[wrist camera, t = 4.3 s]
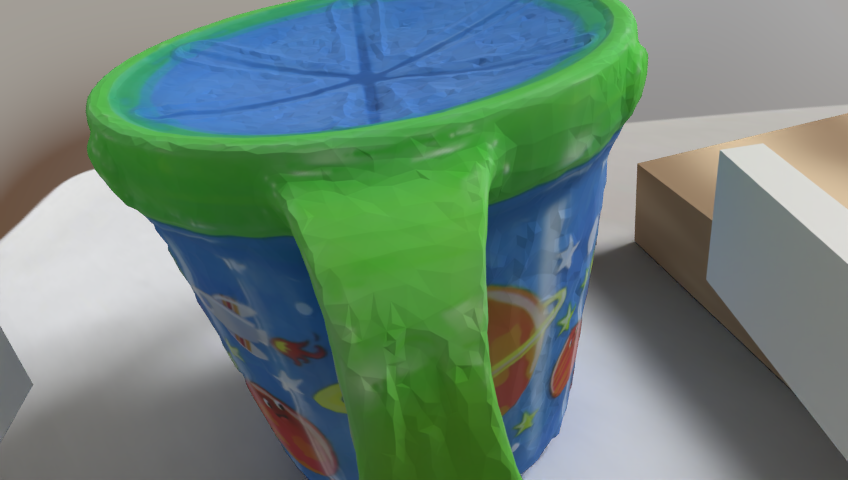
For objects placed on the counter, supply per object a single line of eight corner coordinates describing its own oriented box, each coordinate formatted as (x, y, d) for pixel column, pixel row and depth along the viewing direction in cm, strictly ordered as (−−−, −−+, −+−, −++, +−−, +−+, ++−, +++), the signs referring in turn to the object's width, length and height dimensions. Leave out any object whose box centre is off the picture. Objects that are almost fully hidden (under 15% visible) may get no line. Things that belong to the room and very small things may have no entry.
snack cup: (280, 269, 26) (200, -15, 21) (565, 237, 25) (558, -63, 20) (140, 752, 13) (-186, 301, 7) (733, 707, 12) (845, 183, 7)
